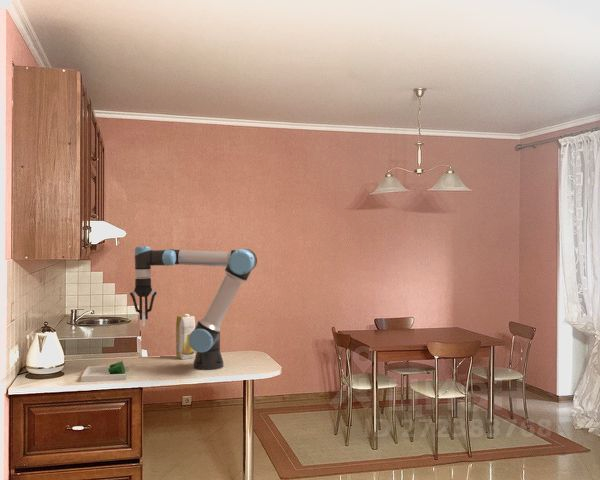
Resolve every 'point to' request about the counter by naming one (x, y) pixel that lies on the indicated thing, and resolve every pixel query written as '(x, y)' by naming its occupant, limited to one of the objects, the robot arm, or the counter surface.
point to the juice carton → (184, 336)
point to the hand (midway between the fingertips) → (143, 326)
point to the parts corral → (88, 378)
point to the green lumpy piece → (117, 368)
